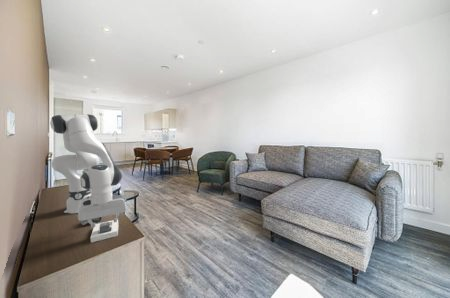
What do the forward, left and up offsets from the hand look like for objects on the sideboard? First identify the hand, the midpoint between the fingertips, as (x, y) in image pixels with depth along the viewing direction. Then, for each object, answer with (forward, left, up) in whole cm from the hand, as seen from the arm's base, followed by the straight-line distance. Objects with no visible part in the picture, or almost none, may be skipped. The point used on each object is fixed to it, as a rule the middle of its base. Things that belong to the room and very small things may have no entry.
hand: (104, 224), depth 94 cm
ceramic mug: (-21, -7, -6) cm, 23 cm away
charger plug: (+1, 0, -6) cm, 6 cm away
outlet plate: (-3, 0, -5) cm, 6 cm away
